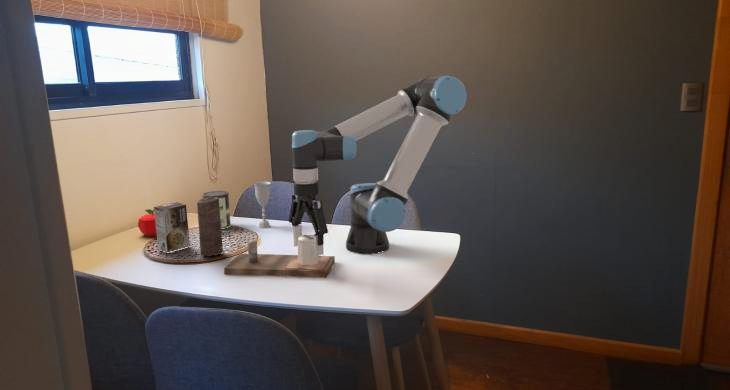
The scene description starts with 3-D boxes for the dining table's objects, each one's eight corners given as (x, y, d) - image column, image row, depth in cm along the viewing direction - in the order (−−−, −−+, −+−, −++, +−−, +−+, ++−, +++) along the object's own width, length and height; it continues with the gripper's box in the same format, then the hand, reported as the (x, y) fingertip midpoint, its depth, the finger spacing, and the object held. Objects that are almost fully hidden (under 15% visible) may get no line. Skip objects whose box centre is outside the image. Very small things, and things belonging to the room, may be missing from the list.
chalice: (255, 225, 217) (252, 182, 214) (271, 223, 219) (269, 181, 216) (257, 229, 211) (254, 185, 207) (274, 228, 213) (271, 184, 209)
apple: (174, 231, 210) (172, 206, 208) (157, 238, 200) (155, 213, 198) (151, 229, 212) (148, 205, 210) (133, 237, 202) (131, 211, 200)
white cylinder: (322, 262, 165) (321, 236, 163) (305, 266, 161) (304, 240, 160) (311, 257, 170) (310, 232, 168) (295, 261, 166) (294, 236, 164)
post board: (334, 262, 172) (334, 237, 170) (326, 277, 159) (326, 250, 157) (240, 259, 176) (238, 235, 174) (224, 274, 162) (222, 248, 160)
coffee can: (218, 222, 222) (216, 189, 219) (236, 225, 217) (234, 192, 214) (199, 228, 214) (196, 194, 211) (217, 231, 208) (214, 197, 205)
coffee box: (180, 244, 192) (176, 201, 189) (190, 248, 188) (187, 204, 185) (157, 251, 185) (153, 206, 182) (167, 254, 181) (163, 209, 178)
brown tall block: (216, 259, 176) (212, 201, 171) (196, 258, 177) (191, 200, 173) (227, 252, 183) (223, 196, 179) (207, 251, 184) (203, 195, 180)
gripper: (338, 185, 153) (340, 257, 158) (296, 175, 172) (298, 239, 176) (317, 189, 149) (319, 262, 153) (275, 177, 167) (278, 243, 172)
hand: (308, 250), depth 165 cm, fingers open, 11 cm apart
